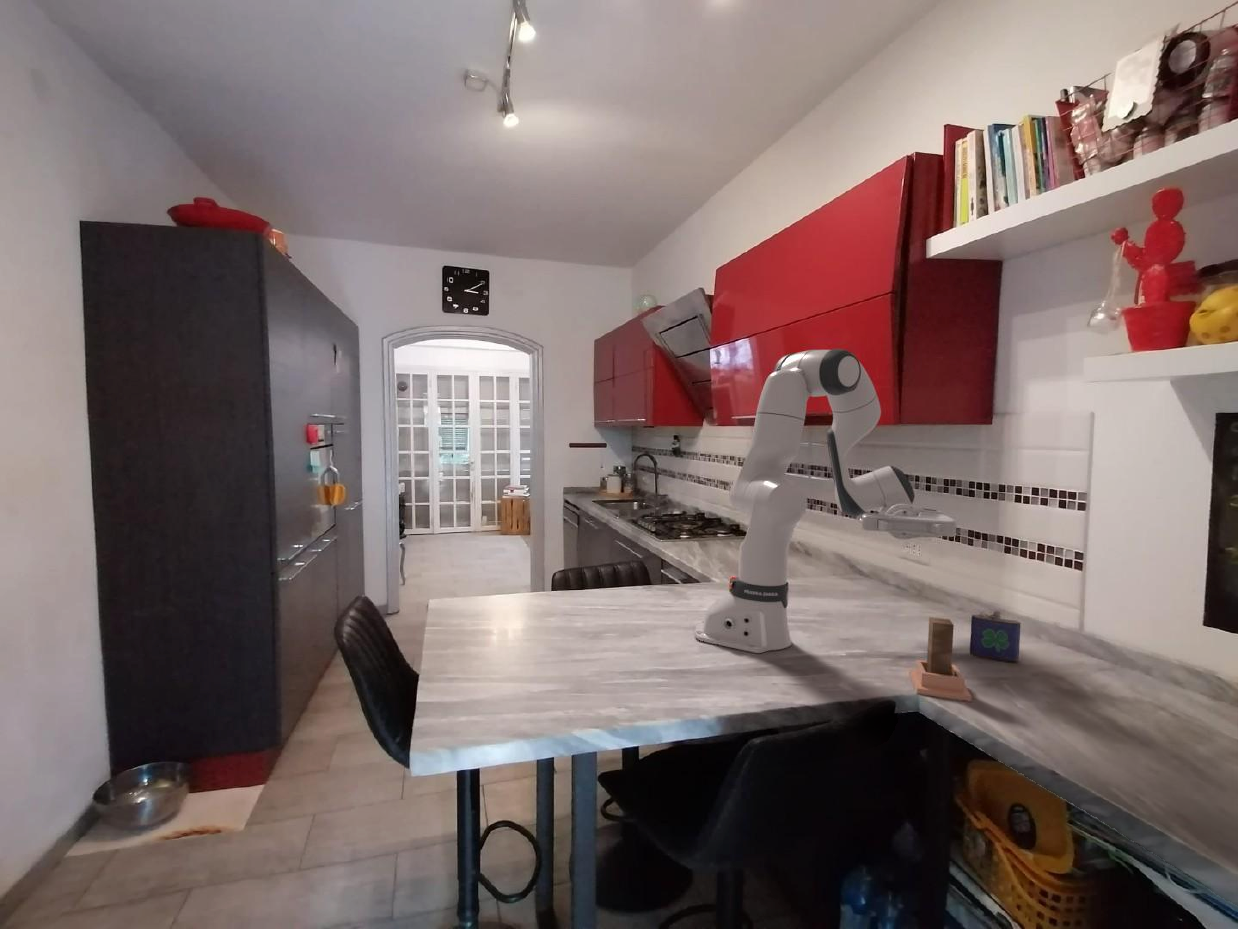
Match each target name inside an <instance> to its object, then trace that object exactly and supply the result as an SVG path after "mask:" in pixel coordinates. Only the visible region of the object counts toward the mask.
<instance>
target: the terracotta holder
mask: <svg viewBox="0 0 1238 929" xmlns="http://www.w3.org/2000/svg"><path fill="white" fill-rule="evenodd" d="M914 665H915V666H914V668H908V672H907V673H908V675H909V678H910V680H911V683H912V685H913V688H914V691H915V693H916V694H917V695H924V696H932V697H937V698H945V699H949V700H950V699H951V700H956V699H958V700H957V701H962V700H968V701H967V702H969V701H971V702H972V699H973V697H972V695H971V693H970V691H969V690H968V688H967V687H966V685H965V678H964V676H963V674H962V673H961V672H960V670H959V669H958V667H957V666H956V664H952V666H951V676H949V675H942V674H935V673H928V672H927V660H926V661H925V660H919V659H915V664H914Z"/></svg>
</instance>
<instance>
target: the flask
mask: <svg viewBox="0 0 1238 929" xmlns="http://www.w3.org/2000/svg"><path fill="white" fill-rule="evenodd" d="M1000 615H1001V611H998V610H993V614H990V615H989V614H984V615H983V613H980V614H972V615H971V619H970V620H971V623H970V641H969V642H970V643H969V655H970V656H973V657H975V656H976V658H980V659H986V660H992V661H998V662H1005V663H1010V662H1011V663H1010V664H1012V663H1015V664H1018V663H1019V661H1020V640H1021V625H1022V624H1021V623H1022V622H1020V621H1017V620H1014V619H1005V618H1002V617H1001V616H1000Z"/></svg>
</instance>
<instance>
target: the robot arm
mask: <svg viewBox="0 0 1238 929" xmlns="http://www.w3.org/2000/svg"><path fill="white" fill-rule="evenodd" d="M764 382H765V383H764V385H763V388H762V390H761V394H760V397H759V400H758V404H757V408H756V415H755V420H754V424H753V430H752V435H751V440H750V444H749V448H748V451H747V454H746V456H745V459H744V461H743V464H742V466H741V469H740V471H739V474H738V476H737V478H736V479H735V480H734V481H733V482H732V484H731V486H730V488H729V501H730V503H731V505H732V506H733V508H734V509H735V510H736V511H737V512H738V513H739V514H740V515H742V516H744V517H746V518H749V523H748V527H747V530H746V534H745V537H744V539H743V541H742V542H741V543H740V546H739V551H738V552H739V554H738V576H737V575H732V576H731V577H730V578H729V585H728V586H729V588H728V589H729V592H728V593H727V594H725V595H724V596H722V597H721V598H720V599H719V598H718V600H716V601H714V602H713V603H712V604H710V605H709V607H708V608H707V610H706V613H705V617H704V620H703V621H701V622H699V623H698V624H697V625H696V627H695V629H694V633H693V636H694V635H695V636H694V638H695V639H696V638H697V639H698V640H697V639H696V640H697V641H699V640H700V642H703V641H704V642H705V643H709V644H714V645H717V644H718V646H723V647H727V648H732V649H736V650H741V651H746V652H751V653H754V654H755V653H756V654H761V653H765V652H768V651H777V650H783V649H785V648H788V647H790V646H791V645H792V639H791V635H790V630H789V628H790V627H789V622H788V616H787V615H788V614H787V613H788V611H787V610H788V608H787V607H788V606H789V605H788V604H789V599H790V598H789V595H790V593H789V592H790V588H789V582H788V581H787V580H788V563H789V562H788V558H789V550H790V545H791V541H792V537H793V534H794V531H795V528H796V526H797V524H798V523H799V522H800V521H801V520H802V519H803V517H804V516H805V514H806V511H807V508H808V507H807V506H808V499H807V496H806V493H805V492H804V490H803V489H802V487H800V486H799V485H798V484H796V483H794V482H793V481H791V480H790V479H788V478H785V476H786V473H787V471H788V469H789V467H790V466H791V463H792V462H793V461H794V460H795V459H796V458H797V457H798V455H799V452H800V447H801V442H802V436H803V431H804V425H805V420H806V414H807V406H808V404H807V403H808V400H809V398H810V397H812V398H813V397H814V398H817V397H827V400H828V403H829V406H830V408H831V411H832V418H833V419H832V423H831V427H830V428H829V429H828V430H827V433H826V440H827V442H826V443H827V448H828V449H827V450H828V454H829V455H828V456H829V461H830V467H831V472H832V478H833V484H834V498H835V499H834V500H835V503H836V505H837V507H838V509H839V510H840V511H841V513H842V514H844V515H847V516H849V517H853V518H857V517H858V522H861V523H860V524H861V526H860V527H861V530H862V531H863V530H864V531H870V532H872V531H873V532H882V533H883V532H884V533H885V532H886V533H888V534H889V535H890V536H891V537H893V538H895V539H898V540H911V539H917V538H940V537H951V538H953V537H955V536H956V533H957V521H956V520H955V519H954V518H952V517H950V516H948V515H945V514H943V511H942V510H936V509H929V508H924V507H918V506H917V505H913V503H914V501H915V496H916V495H915V492H914V489H913V485H912V484H911V482H910V480H909V478H908V477H907V475H906V473H905V472H904V471H903V470H901V469H899V468H898V467H896V466H893V465H887V466H884V467H881V468H877V469H874V470H873V471H870V472H868V473H867V472H866V473H864V474H861V475H859V476H856V477H855V476H854V477H850V472H849V464H848V459H847V458H848V454H849V452H850V450H851V449H852V448H853V447H854V446H855V445H856V444H857V443H858V442H859V441H861V440H862V439H864V438H865V437H866V436H867V435H869V434H870V433H871V432H872V431H873V429H875V427H876V426H877V425H878V423H879V421H880V418H881V414H882V409H881V404H880V401H879V397H878V395H877V392H876V389H875V386H874V384H873V382H872V380H871V378H870V376H869V374H868V372H867V371H866V369H865V367H864V366H863V365H862V363H861V362H860V361H859V359H858V357H857V356H856V355H855V354H854V353H853V352H851V351H850V350H847V349H842V348H832V349H808V350H805V351H804V350H803V351H799V352H792V353H789V354H787V355H784V356H782V357H781V358H780V359H779V360H778V361H777V362H776V364H775V366H774V369H773V372H772V373H771V374H769V375H768V377H767V378H766V380H765V381H764ZM876 509H879V511H878V512H879V513H873V512H870V511H874V510H876ZM867 512H868V513H867ZM859 516H860V517H859ZM704 642H703V643H704Z"/></svg>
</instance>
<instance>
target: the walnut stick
mask: <svg viewBox="0 0 1238 929" xmlns="http://www.w3.org/2000/svg"><path fill="white" fill-rule="evenodd" d="M954 627H955V626H954V623H953V622H952V621H951V620H950V619H949V618H938V617H931V616H930V617H929V618H928V636H927V654H926V655H927V658H926V661H927V672H928V673H935V674H942V675H949V676H951V666H952V665H953V646H954V645H953V643H954V630H955V629H954Z"/></svg>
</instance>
